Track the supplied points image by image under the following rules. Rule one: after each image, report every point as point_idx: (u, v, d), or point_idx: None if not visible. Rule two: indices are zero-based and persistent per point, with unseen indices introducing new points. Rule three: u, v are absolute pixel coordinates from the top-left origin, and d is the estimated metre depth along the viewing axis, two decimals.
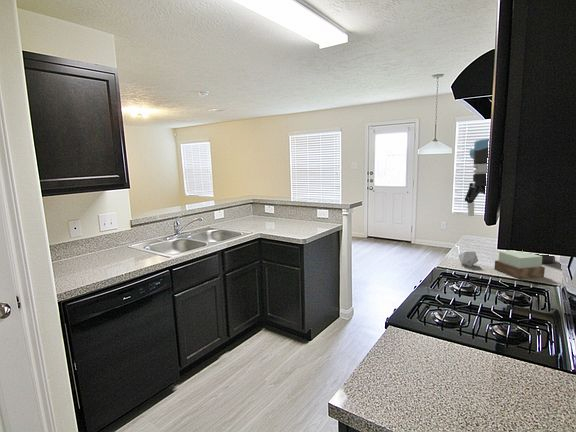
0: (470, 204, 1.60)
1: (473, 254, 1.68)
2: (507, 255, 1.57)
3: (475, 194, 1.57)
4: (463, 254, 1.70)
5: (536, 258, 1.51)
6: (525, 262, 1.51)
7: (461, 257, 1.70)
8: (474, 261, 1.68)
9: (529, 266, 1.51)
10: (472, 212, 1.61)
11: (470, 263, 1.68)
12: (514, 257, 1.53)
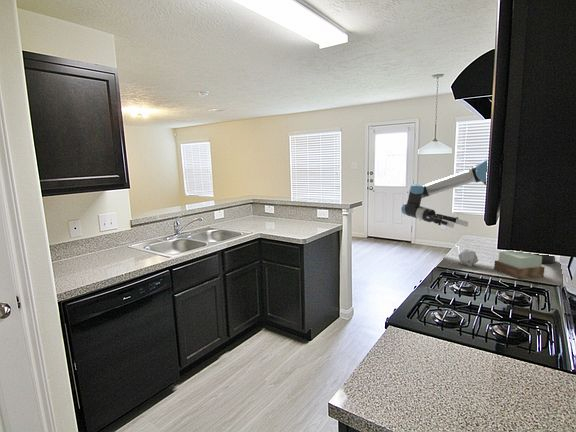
0: (456, 222, 1.81)
1: (473, 254, 1.68)
2: (507, 255, 1.57)
3: (445, 219, 1.84)
4: (463, 254, 1.70)
5: (536, 258, 1.52)
6: (525, 262, 1.51)
7: (461, 257, 1.70)
8: (474, 261, 1.68)
9: (529, 266, 1.51)
10: (464, 222, 1.77)
11: (470, 263, 1.68)
12: (514, 257, 1.53)
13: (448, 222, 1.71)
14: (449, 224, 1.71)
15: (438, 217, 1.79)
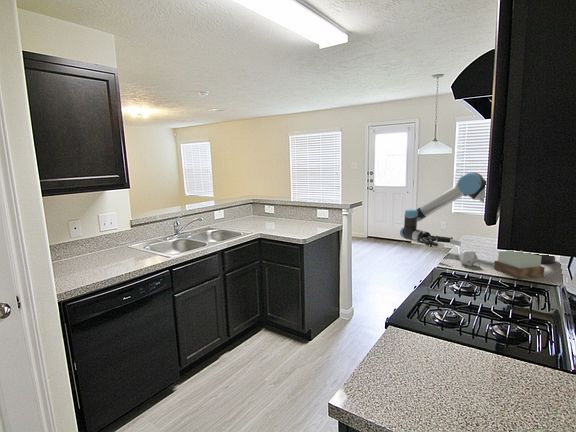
0: (450, 242, 1.87)
1: (473, 254, 1.68)
2: (507, 255, 1.57)
3: (440, 240, 1.91)
4: (463, 254, 1.70)
5: (535, 258, 1.52)
6: (525, 262, 1.51)
7: (461, 257, 1.70)
8: (474, 261, 1.68)
9: (529, 266, 1.52)
10: (457, 241, 1.83)
11: (470, 263, 1.68)
12: (514, 257, 1.53)
13: (438, 243, 1.79)
14: (439, 245, 1.78)
15: (430, 239, 1.87)
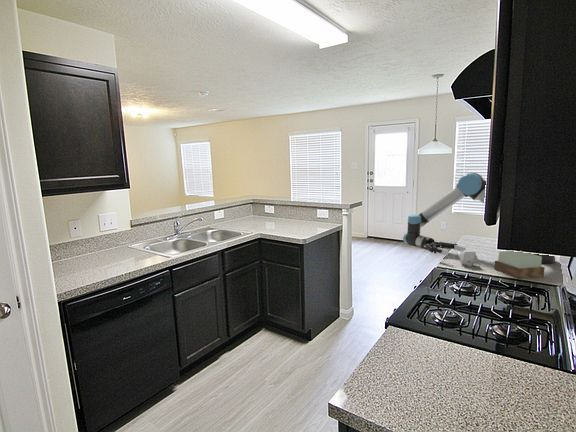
0: (455, 248, 1.85)
1: (473, 254, 1.68)
2: (507, 255, 1.57)
3: (444, 246, 1.88)
4: (463, 254, 1.70)
5: (536, 258, 1.52)
6: (525, 262, 1.51)
7: (461, 257, 1.70)
8: (474, 261, 1.68)
9: (529, 266, 1.52)
10: (462, 248, 1.81)
11: (470, 263, 1.68)
12: (514, 257, 1.53)
13: (442, 250, 1.76)
14: (443, 252, 1.76)
15: (434, 245, 1.84)
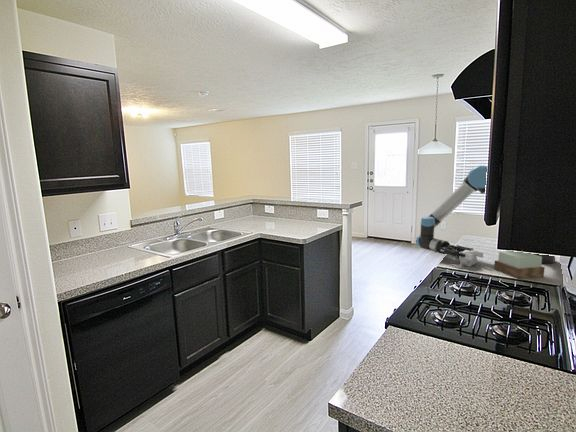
0: None
1: None
2: (507, 255, 1.57)
3: (459, 250, 1.78)
4: None
5: (536, 258, 1.52)
6: (525, 262, 1.51)
7: (460, 257, 1.70)
8: (473, 261, 1.67)
9: (529, 266, 1.51)
10: (479, 253, 1.69)
11: (469, 263, 1.67)
12: (514, 257, 1.53)
13: (466, 254, 1.67)
14: (467, 256, 1.66)
15: (453, 249, 1.75)
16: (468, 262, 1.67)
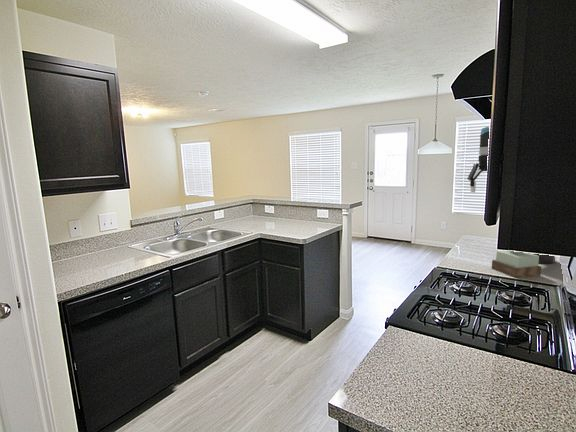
0: None
1: None
2: (505, 255, 1.58)
3: None
4: None
5: (533, 257, 1.53)
6: (523, 261, 1.52)
7: None
8: None
9: (526, 265, 1.53)
10: None
11: None
12: (512, 257, 1.54)
13: (473, 187, 1.86)
14: (472, 188, 1.87)
15: (479, 173, 1.84)
16: None
